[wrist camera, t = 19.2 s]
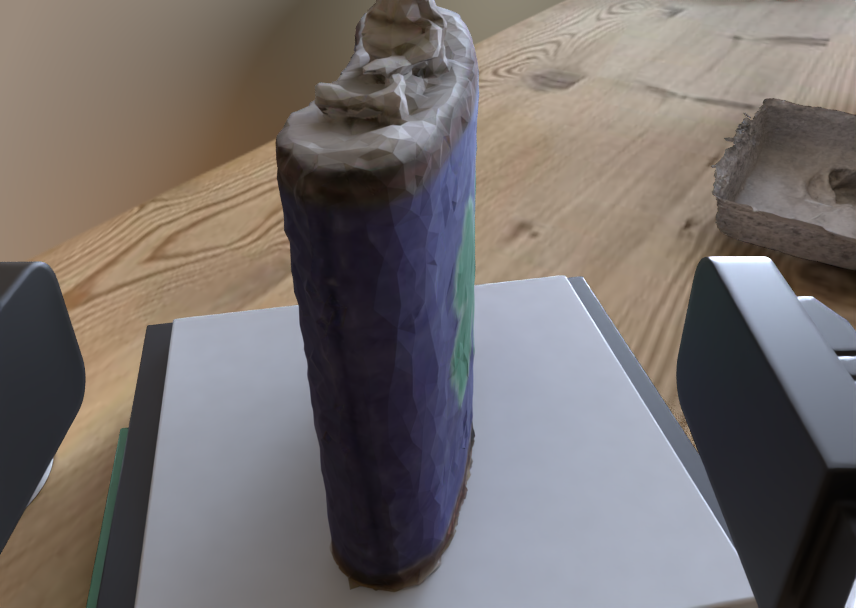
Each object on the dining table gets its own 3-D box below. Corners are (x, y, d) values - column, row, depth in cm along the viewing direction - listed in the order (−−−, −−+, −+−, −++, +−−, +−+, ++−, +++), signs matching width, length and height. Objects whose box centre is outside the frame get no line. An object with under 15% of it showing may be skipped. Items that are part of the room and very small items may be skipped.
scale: (72, 881, 14) (17, 791, 13) (149, 389, 26) (127, 304, 24) (802, 729, 17) (846, 633, 15) (576, 336, 28) (585, 254, 26)
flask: (382, 319, 23) (361, -89, 17) (483, 324, 23) (499, -88, 17) (310, 591, 16) (229, 32, 10) (460, 604, 15) (474, 37, 9)
